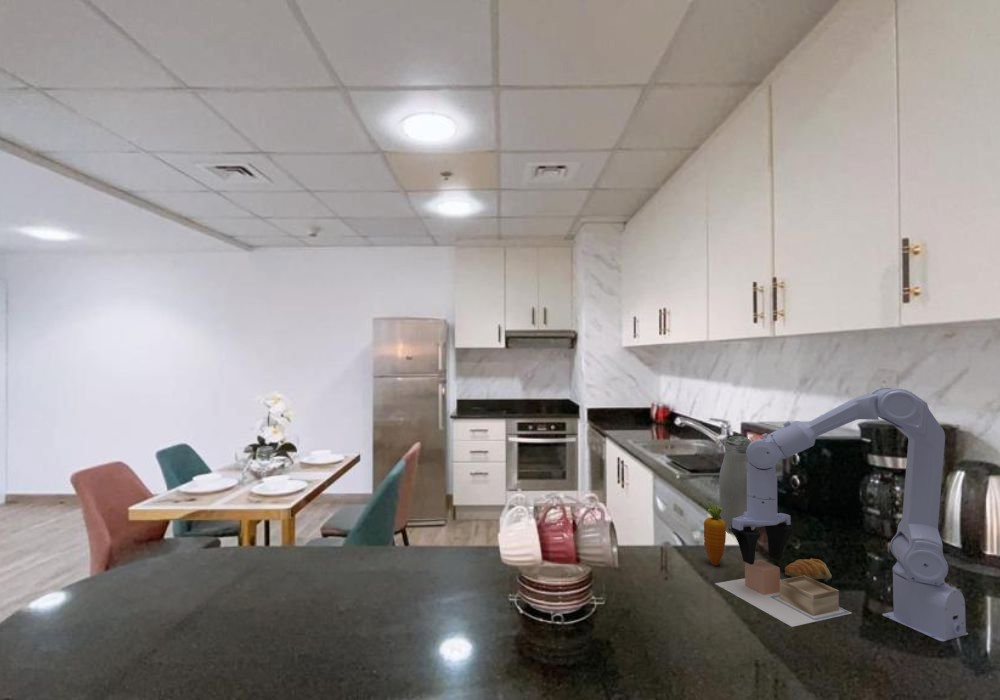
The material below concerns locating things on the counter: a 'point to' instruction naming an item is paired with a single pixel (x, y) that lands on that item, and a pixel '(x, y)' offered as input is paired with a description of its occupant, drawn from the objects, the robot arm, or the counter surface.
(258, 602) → the counter surface
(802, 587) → the maple base block
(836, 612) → the board
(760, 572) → the terracotta block
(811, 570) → the pastry
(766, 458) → the robot arm
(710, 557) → the carrot
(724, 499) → the glass bottle
